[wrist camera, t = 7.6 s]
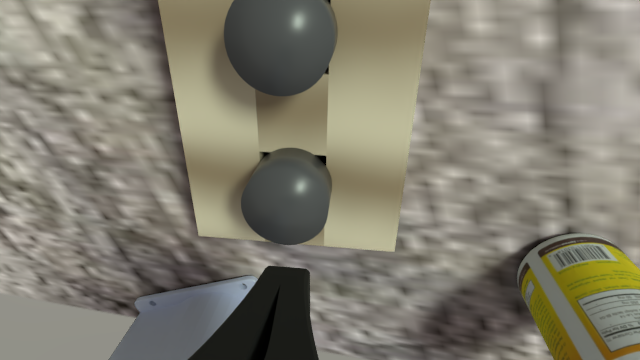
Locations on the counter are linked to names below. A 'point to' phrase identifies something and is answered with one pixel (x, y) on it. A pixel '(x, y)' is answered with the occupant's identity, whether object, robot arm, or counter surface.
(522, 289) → the supplement bottle
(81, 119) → the counter surface
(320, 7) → the knob middle
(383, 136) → the knob mount
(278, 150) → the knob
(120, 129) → the counter surface
